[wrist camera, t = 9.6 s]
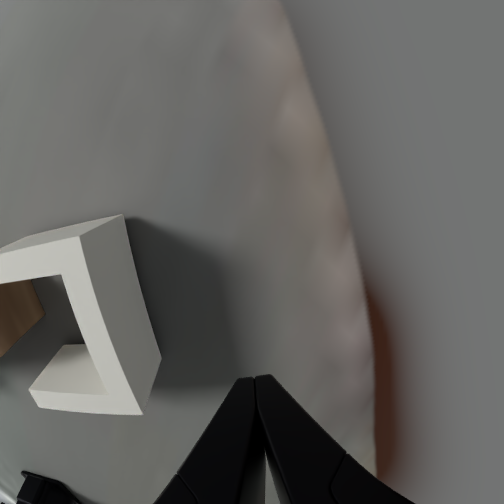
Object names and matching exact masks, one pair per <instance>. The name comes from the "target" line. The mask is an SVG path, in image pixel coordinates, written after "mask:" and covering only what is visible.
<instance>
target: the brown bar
mask: <svg viewBox="0 0 504 504" xmlns="http://www.w3.org/2000/svg"><path fill="white" fill-rule="evenodd" d="M44 315H45V312H44V310H43V308H42V306H41V304H40V301H39V299H38V297H37V294H36V292H35V290H34V287H33V285H32V282H31V280H30V279H27V280H21V281H15V282H8V283H2V284H0V358H1V357H2V356H3V355H4V354H5V353H6V352H7V351H8V350H9V349H10V348H11V347H12V346H13V345H14V344H15V343H16V342H17V341H18V340H19V339H20V338H21V337H22V336H23V335H24V334H25V333H26V332H27V331H28V330H29V329H30V328H31V327H32V326H33V325H34V324H35V323H36V322H38V321H39V320H40V319H41V318H42V317H43V316H44Z"/></svg>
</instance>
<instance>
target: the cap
mask: <svg viewBox="0 0 504 504" xmlns="http://www.w3.org/2000/svg"><path fill="white" fill-rule="evenodd" d="M59 274H61V275H62V278H63V281H64V285H65V288H66V291H67V294H68V297H69V300H70V303H71V306H72V309H73V312H74V314H75V317H76V320H77V323H78V325H79V328H80V331H81V333H82V336H83V338H84V341H85V343H86V344H74V345H63V346H62V347H61V349H60V350H59V351H58V352H57V354H56V355H55V356H54V357H53V358H52V360H51V361H50V362H49V363H48V365H47V366H46V367H45V369H44V370H43V371H42V372H41V374H40V375H39V376H38V378H37V379H36V380H35V381H34V383H33V384H32V385H31V387H30V388H29V389H28V390H29V391H30V393H31V395H32V396H33V398H34V400H35V401H36V403H37V405H38V406H39V407H40V408H47V409H55V410H64V411H73V412H85V413H99V414H119V415H143V414H144V411H145V407H146V404H147V401H148V398H149V395H150V392H151V389H152V386H153V383H154V380H155V377H156V374H157V371H158V368H159V365H160V362H161V359H162V357H161V354H160V351H159V348H158V345H157V342H156V339H155V336H154V333H153V329H152V326H151V323H150V320H149V316H148V313H147V309H146V306H145V302H144V299H143V295H142V292H141V288H140V284H139V280H138V277H137V273H136V269H135V265H134V261H133V256H132V252H131V248H130V243H129V239H128V234H127V230H126V225H125V220H124V215H123V214H121V215H116V216H111V217H106V218H102V219H97V220H93V221H88V222H84V223H79V224H75V225H70V226H66V227H62V228H58V229H54V230H50V231H46V232H42V233H38V234H34V235H30V236H27V237H24V238H22V239H20V240H18V241H15V242H13V243H11V244H9V245H6V246H4V247H2V248H0V284H2V283H8V282H15V281H21V280H27V279H34V278H40V277H46V276H52V275H59Z"/></svg>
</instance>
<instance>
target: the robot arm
mask: <svg viewBox="0 0 504 504" xmlns="http://www.w3.org/2000/svg"><path fill="white" fill-rule="evenodd" d="M265 452H266V455H265ZM266 456H267V460H268V464H269V468H270V471H271V475H272V478H273V481H274V485H275V488H276V491H277V494H278V498H279V501H280V504H415V503H413V502H412V501H410V500H408V499H407V498H405V497H404V496H402V495H400V494H399V493H397V492H396V491H393V490H392V489H391V488H390V487H388V486H387V485H385V484H384V483H383V482H381V481H380V480H378V479H377V478H376V477H374V476H373V475H372V474H371V473H370V472H368V471H367V470H366V469H365V468H364V467H363V466H361V465H360V464H359V463H358V462H357V461H356V460H355V459H354V458H353V457H352V456H351V455H350V454H346V451H345V450H344V449H343V448H342V447H341V446H340V445H339V444H338V443H337V442H336V441H335V440H334V439H333V438H332V437H331V436H330V435H329V434H328V433H327V432H326V431H325V430H324V429H323V428H322V427H321V426H320V425H319V424H318V423H317V422H316V421H315V420H314V419H313V418H312V417H311V416H310V415H309V414H308V413H307V412H306V411H305V410H304V409H303V408H302V407H301V406H300V405H299V404H298V402H297V401H296V400H295V399H294V398H293V397H292V396H291V395H290V394H289V393H288V392H287V391H286V390H285V389H284V388H283V387H282V385H281V384H280V383H279V382H278V381H277V380H276V379H275V378H274V377H273V376H272V375H271V374H267V375H260V376H256V377H255V379H254V378H253V377H245V378H239V379H237V380H236V382H235V383H234V385H233V387H232V388H231V390H230V391H229V393H228V395H227V396H226V398H225V399H224V401H223V403H222V404H221V406H220V407H219V409H218V410H217V412H216V414H215V415H214V417H213V418H212V420H211V421H210V423H209V424H208V426H207V428H206V429H205V431H204V432H203V434H202V435H201V437H200V438H199V440H198V441H197V443H196V444H195V446H194V447H193V449H192V450H191V452H190V453H189V455H188V456H187V458H186V459H185V461H184V462H183V464H182V465H181V467H180V468H179V469H178V471H177V474H178V475H177V474H175V475H174V476H173V478H172V479H171V481H170V482H169V484H168V485H167V486H166V488H165V489H164V490H163V492H162V493H161V494H160V496H159V497H158V498H157V499H156V501H155V502H154V503H153V504H265V476H266ZM21 474H22V476H23V477H24V478H25V481H24V483H23V485H22V487H21V489H20V492H19V494H18V496H17V500H18V501H17V503H16V504H81V503H80V502H79V501H78V500H77V499H76V498H75V497H74V496H73V495H72V494H71V493H70V492H69V491H68V490H67V489H66V488H65V487H64V486H63V485H62V484H61V483H60V482H58V481H55V480H51V479H48V478H44V477H41V476H38V475H34V474H31V473H28V472H25V471H22V472H21ZM1 504H5V503H3V502H1Z"/></svg>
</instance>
